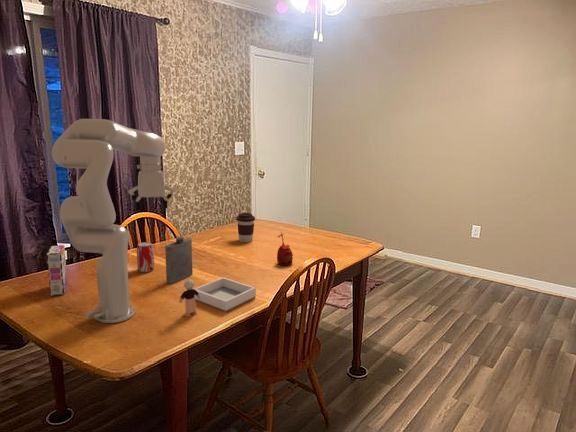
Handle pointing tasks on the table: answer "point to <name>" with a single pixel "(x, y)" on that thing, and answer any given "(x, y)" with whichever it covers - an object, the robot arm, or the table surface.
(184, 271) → the flask
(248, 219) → the coffee cup
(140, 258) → the soda can
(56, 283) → the candy bar box
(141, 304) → the table surface
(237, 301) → the shadow box frame
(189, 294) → the grandmother figurine
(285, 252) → the dark red rounded piece
